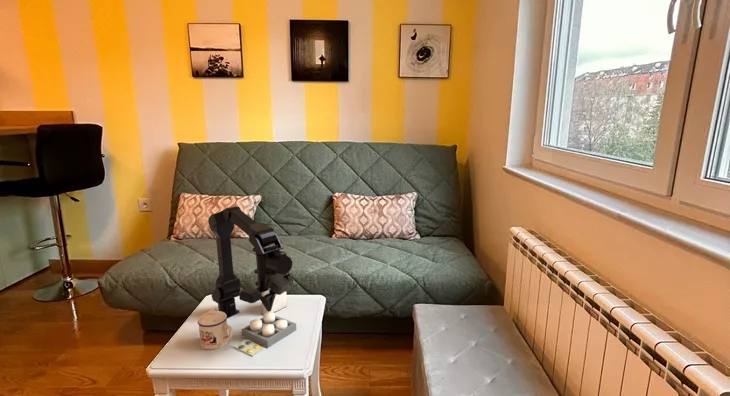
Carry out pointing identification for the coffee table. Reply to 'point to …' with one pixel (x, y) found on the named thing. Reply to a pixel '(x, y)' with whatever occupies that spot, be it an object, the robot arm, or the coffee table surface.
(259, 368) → the coffee table surface
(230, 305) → the robot arm
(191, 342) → the coffee table surface
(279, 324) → the button
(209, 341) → the teacup with lid
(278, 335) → the lights out board
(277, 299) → the photo printer
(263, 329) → the button
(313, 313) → the coffee table surface
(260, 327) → the button
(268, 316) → the button
